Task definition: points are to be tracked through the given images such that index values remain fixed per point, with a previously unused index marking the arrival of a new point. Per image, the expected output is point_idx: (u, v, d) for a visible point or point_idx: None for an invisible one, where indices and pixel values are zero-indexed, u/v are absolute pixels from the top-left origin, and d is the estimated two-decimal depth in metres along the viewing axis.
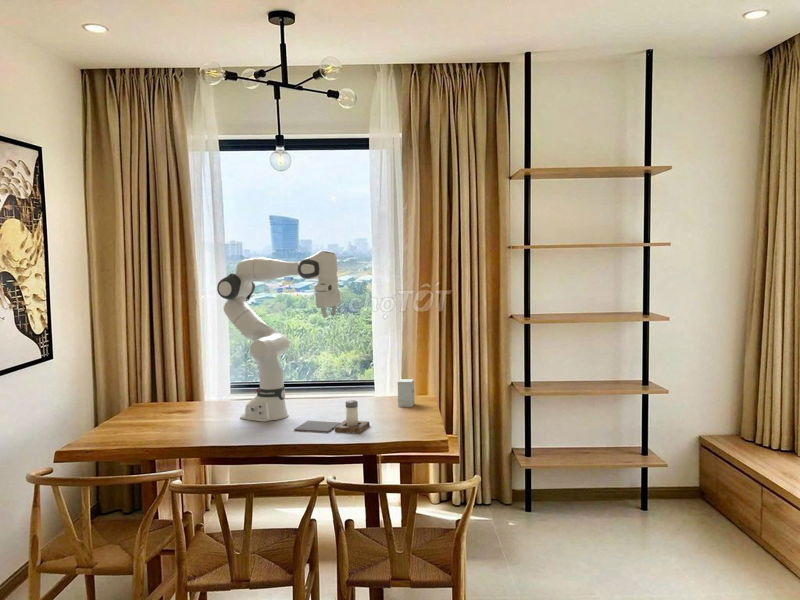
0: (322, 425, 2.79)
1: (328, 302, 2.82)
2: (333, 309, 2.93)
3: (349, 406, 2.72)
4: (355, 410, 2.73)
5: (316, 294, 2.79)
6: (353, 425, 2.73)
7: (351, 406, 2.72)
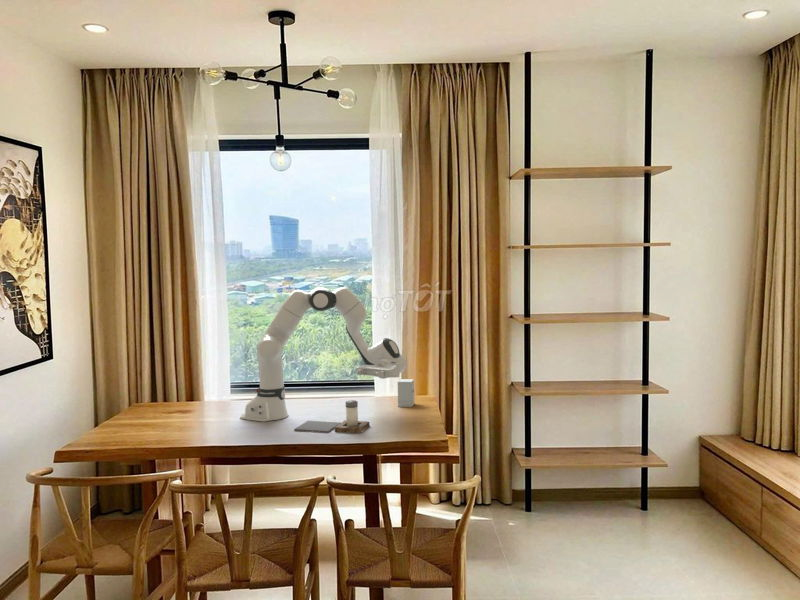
0: (322, 425, 2.79)
1: None
2: None
3: (349, 406, 2.72)
4: (355, 410, 2.73)
5: (396, 367, 2.88)
6: (353, 425, 2.73)
7: (351, 406, 2.72)
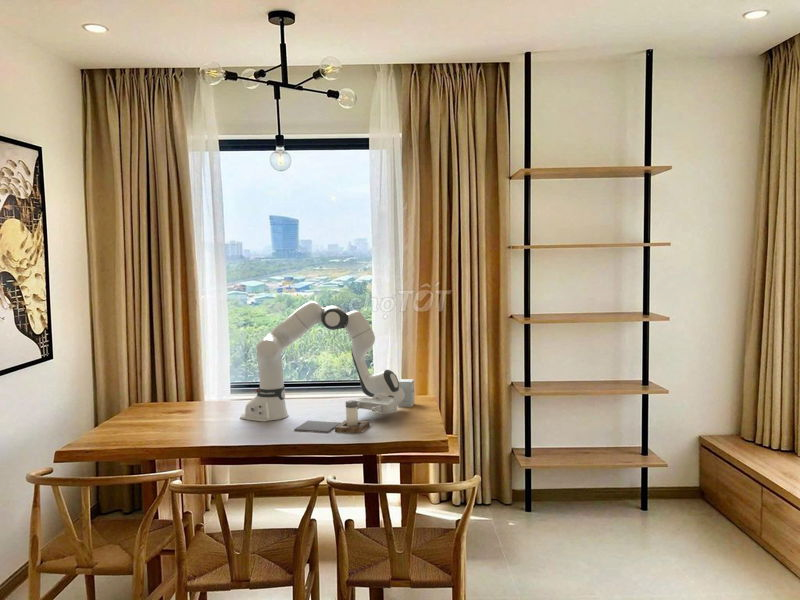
0: (322, 425, 2.79)
1: None
2: (358, 405, 2.88)
3: (349, 406, 2.72)
4: (355, 410, 2.73)
5: (394, 401, 2.87)
6: (353, 425, 2.73)
7: (351, 406, 2.72)
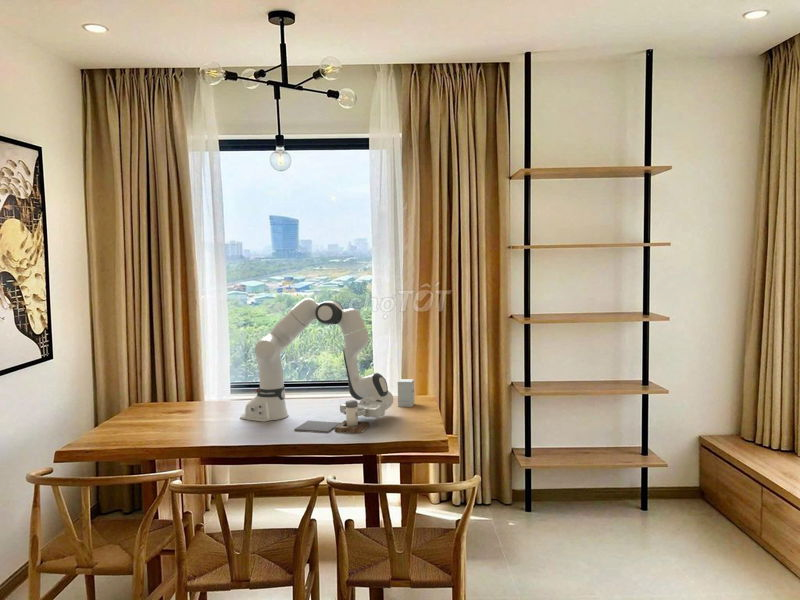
0: (322, 425, 2.79)
1: None
2: None
3: (349, 406, 2.72)
4: (355, 410, 2.73)
5: (381, 406, 2.78)
6: (353, 425, 2.73)
7: (351, 406, 2.72)
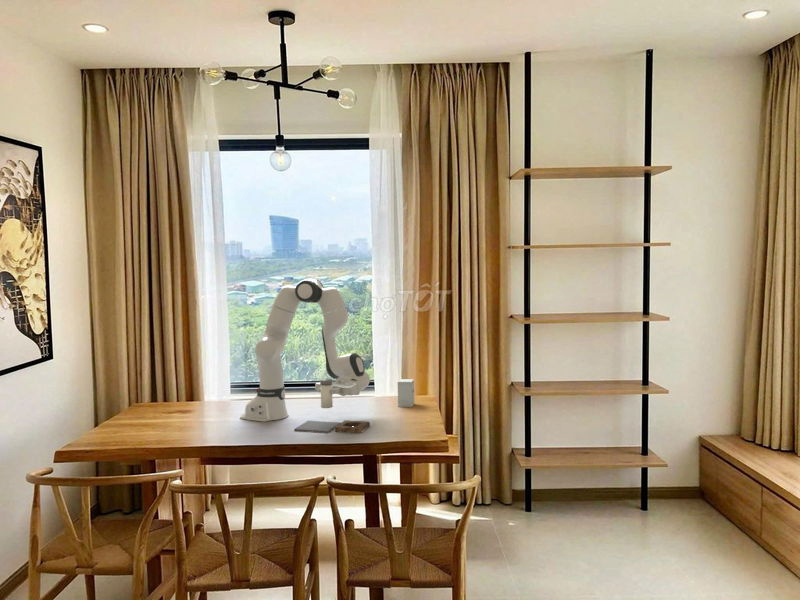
0: (322, 425, 2.79)
1: None
2: None
3: (323, 384, 2.74)
4: (329, 388, 2.75)
5: (356, 385, 2.80)
6: (327, 403, 2.75)
7: (325, 384, 2.74)
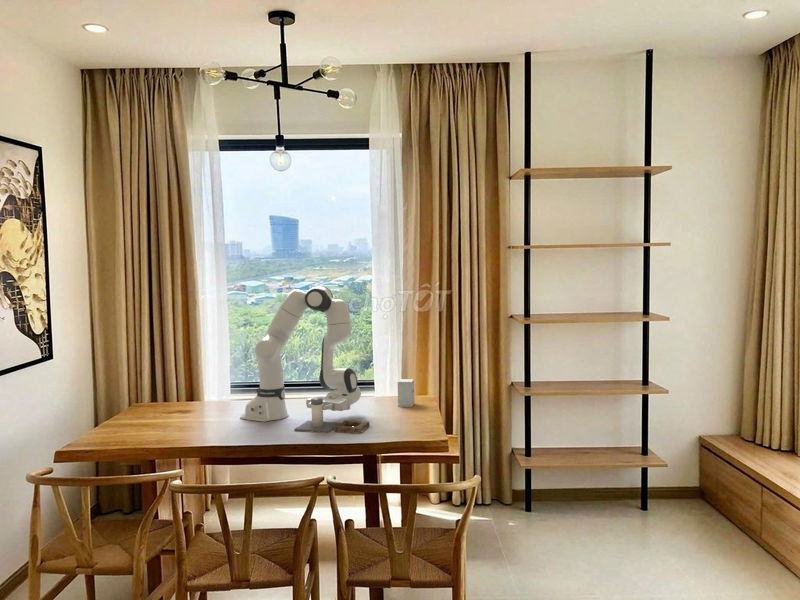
0: None
1: None
2: None
3: (314, 403, 2.76)
4: (320, 407, 2.77)
5: (347, 400, 2.82)
6: (318, 422, 2.77)
7: (316, 404, 2.76)
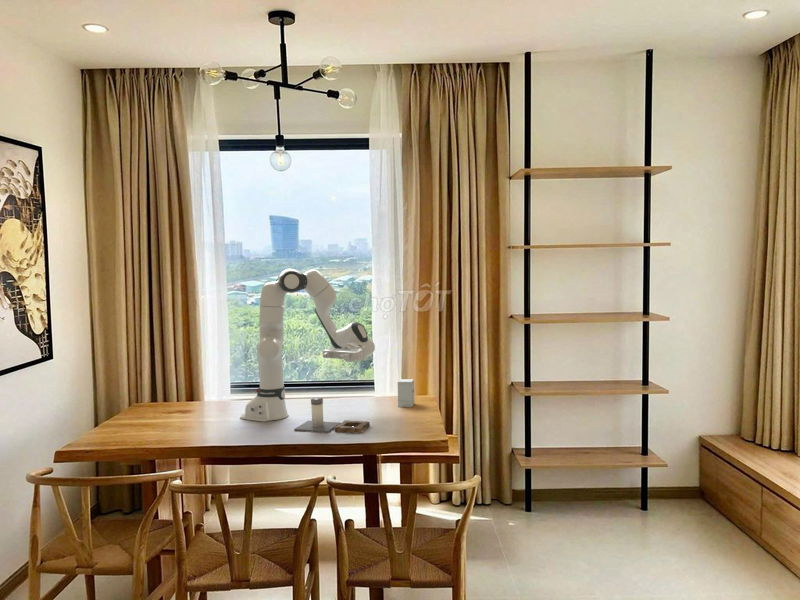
0: None
1: None
2: None
3: (314, 403, 2.76)
4: (320, 407, 2.77)
5: (362, 350, 2.90)
6: (318, 422, 2.77)
7: (316, 403, 2.76)
